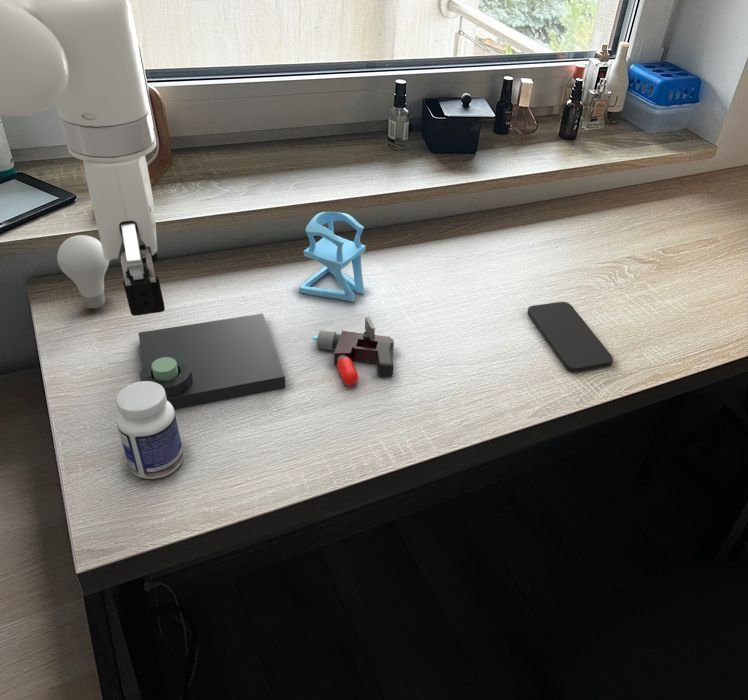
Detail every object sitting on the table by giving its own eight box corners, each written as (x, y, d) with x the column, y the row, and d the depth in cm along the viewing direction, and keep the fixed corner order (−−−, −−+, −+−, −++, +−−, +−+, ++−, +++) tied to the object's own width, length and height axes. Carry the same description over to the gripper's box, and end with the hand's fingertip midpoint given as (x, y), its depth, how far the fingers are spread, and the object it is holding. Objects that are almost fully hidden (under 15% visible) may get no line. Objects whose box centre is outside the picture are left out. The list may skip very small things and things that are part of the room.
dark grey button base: (147, 414, 86) (142, 392, 84) (138, 344, 95) (133, 322, 93) (285, 387, 92) (284, 366, 90) (263, 324, 101) (261, 303, 99)
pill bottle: (192, 446, 82) (179, 381, 76) (171, 484, 78) (155, 418, 72) (143, 439, 83) (126, 373, 76) (119, 477, 78) (99, 410, 72)
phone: (570, 369, 99) (524, 306, 109) (568, 374, 99) (524, 311, 110) (616, 361, 101) (568, 300, 112) (615, 365, 102) (567, 304, 112)
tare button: (154, 383, 85) (152, 373, 84) (152, 369, 87) (150, 359, 86) (179, 379, 86) (177, 369, 85) (177, 364, 88) (175, 355, 87)
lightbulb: (113, 290, 104) (96, 222, 97) (125, 312, 100) (109, 243, 94) (67, 301, 101) (46, 232, 94) (78, 324, 97) (58, 254, 90)
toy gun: (314, 337, 100) (313, 309, 97) (400, 348, 100) (401, 320, 97) (296, 383, 93) (294, 353, 90) (389, 394, 93) (390, 365, 90)
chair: (344, 309, 106) (344, 238, 99) (298, 291, 108) (294, 220, 101) (372, 285, 112) (374, 216, 104) (327, 269, 114) (326, 200, 107)
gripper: (65, 98, 71) (104, 248, 81) (62, 176, 59) (109, 340, 69) (147, 94, 73) (175, 240, 84) (161, 168, 61) (191, 328, 72)
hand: (145, 285), depth 77 cm, fingers open, 9 cm apart
